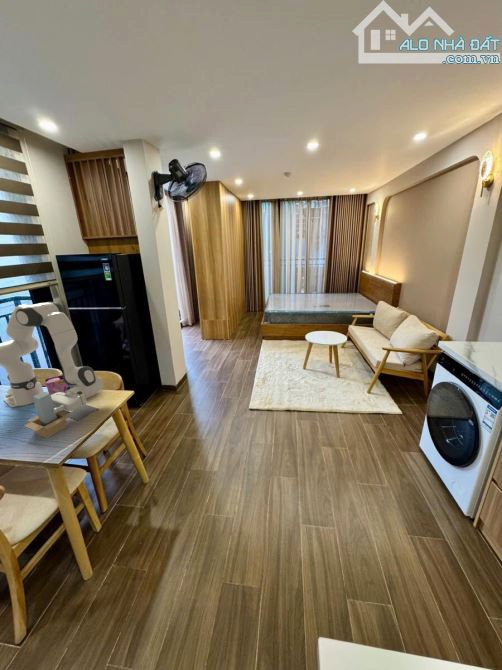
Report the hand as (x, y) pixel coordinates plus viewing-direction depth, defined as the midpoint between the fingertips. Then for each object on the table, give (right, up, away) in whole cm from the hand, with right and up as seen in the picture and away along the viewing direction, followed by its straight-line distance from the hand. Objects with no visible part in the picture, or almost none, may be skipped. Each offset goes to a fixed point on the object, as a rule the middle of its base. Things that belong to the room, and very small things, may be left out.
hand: (47, 409), depth 128 cm
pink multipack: (-13, -1, +36) cm, 39 cm away
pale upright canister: (0, -11, +3) cm, 12 cm away
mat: (+6, -7, +17) cm, 20 cm away
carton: (0, -12, +3) cm, 12 cm away
